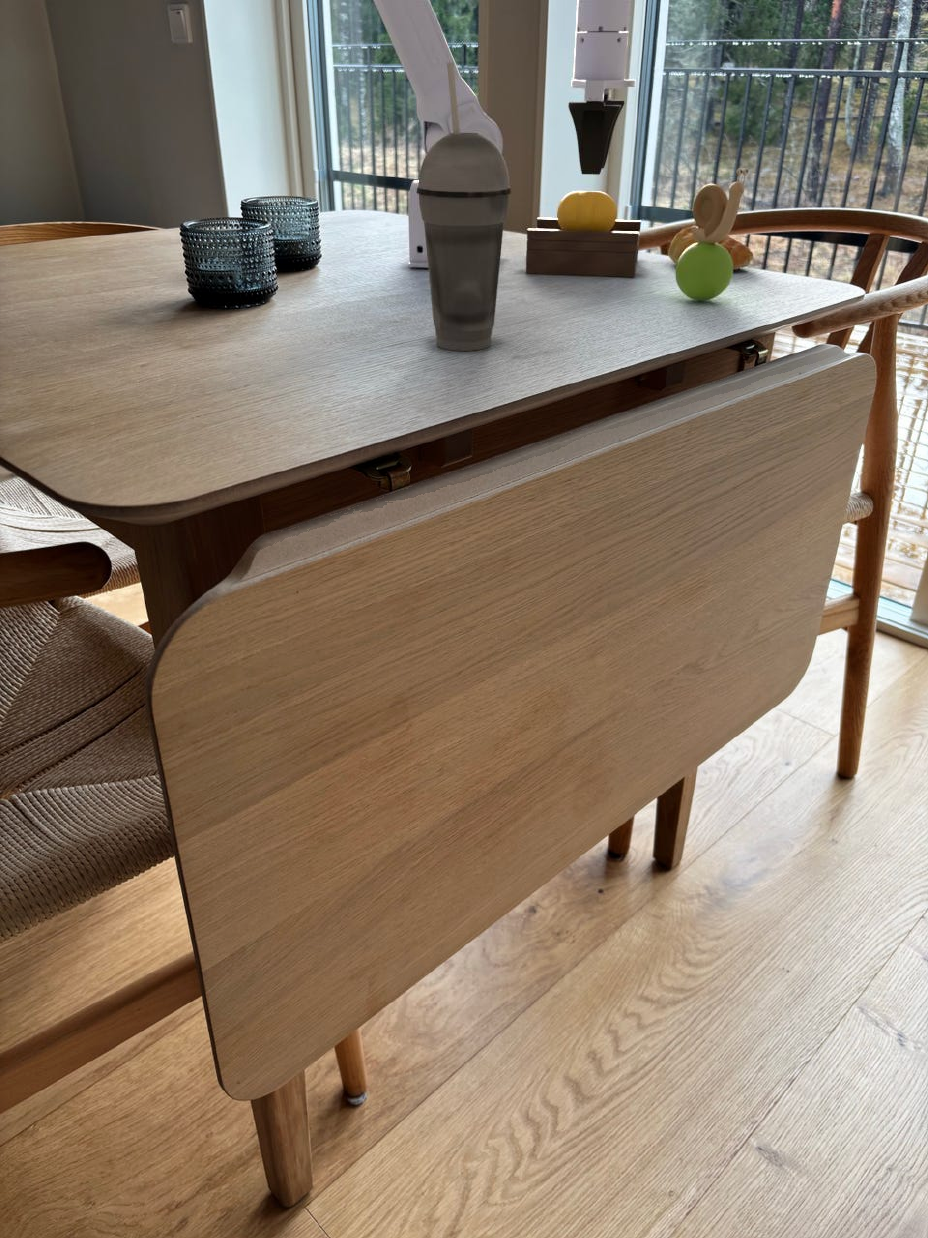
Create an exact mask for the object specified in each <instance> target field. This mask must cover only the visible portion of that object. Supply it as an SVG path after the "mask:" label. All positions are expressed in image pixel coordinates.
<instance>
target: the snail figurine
mask: <svg viewBox="0 0 928 1238" xmlns="http://www.w3.org/2000/svg"><path fill="white" fill-rule="evenodd" d="M735 172H736V175H738V179H737V181H734V182H732V183H731V185H730V186H729V189H728V196H727V193H726V192H725V190H724V189H723V188H722V187H721V186H720V185H718V184H715V183H708V184H705V185H704V186H702V187H701V188H700V189H699V190H698V192H697V193H696V194H695V197H694V199H693V204H692V215H693V216H692V217H693V220H694V222H695V224H696V225H692V226H690V227H691V231H692V234H693V236H694V238H695V239H696V240H697V241H699V242H697V243H695V244H693V245H691V246H690V247H688V248H687V249H686V250H685V251H684V252H683V253H682V254H681V256H680V258H679V260H678V262H677V263H676V264H675V271H674V272H675V273H674V275H675V281H676V284H677V287H678V289H679V290H680V291H681V293H683V295H684V296H686V297H688V298H689V299H691V300H695V301H700V302H701V301H703V302H705V301H709V300H712V299H715V298H717V297H719V296H720V295H721V294H722V293H724V291H725V290H726V289H727V288H728V287H729V285H730V283H731V281H732V278H733V274H734V269H733V262H732V259H731V256H730V254H729V253H728V251H727V250H726V249H725V248H724V247H723V246H722V245H720V244H718V243H717V242H719V241H721V240H723V239H724V238H725V237H726V236H729V234H730V232H731V231H732V230H733V229H732V228H733V226H734V224H735V221H736V219H737V216H738V212H739V209H740V204H741V199H742V197H743V195H744V192H745V186H744V185H745V180H746V175H747V174H748V173H749V169H748V168H747V167H744V168H740V167H739V168H737V169H736V171H735ZM742 175H743V176H744V177H743V182H741V181H740V176H742Z"/></svg>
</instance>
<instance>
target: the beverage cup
mask: <svg viewBox="0 0 928 1238" xmlns="http://www.w3.org/2000/svg"><path fill="white" fill-rule="evenodd" d="M447 70H448V81H449V92H450V103H451V114H452V125H453V133H450V134H448V135H446V136H444V137H442V138H441V139H440V140H438V141H437V142H436V143H435V144H434V145H433V146H432V147H431V149H430V150H429V152H428V153H427V155H425V157H424V158H423V161H422V163H421V166H420V169H419V175H418V180H419V184H418V187H417V192H416V193H418V194H419V205H420V210H421V216H422V220H423V221H424V227H425V237H426V248H427V258H428V268H427V269H428V278H429V288H430V289H429V290H430V299H431V310H432V321H433V326H434V333H435V336H436V346H437V347H439V348H441V349H444V350H448V351H457V352H458V351H459V352H460V351H461V352H470V351H479V350H480V351H481V350H484V349H487V348H489V347H490V346H492V335H493V328H494V325H495V317H496V308H497V307H496V305H497V296H498V287H499V286H498V285H499V277H500V275H499V274H500V265H501V255H502V245H503V244H502V243H503V236H504V235H503V233H504V226H505V225H504V224H505V222H506V219H507V214H508V209H509V205H510V204H509V203H510V195H511V194H512V188H511V186H510V175H509V169H508V166H507V163H506V160H505V158H504V156H503V153H502V154H501V153H500V151H499V150H498V148H497V147H496V146H495V145H494V144H493V143H492V142H491V141H490V140H489V139H487V138H486V137H484V136H482V135H480V134H478V133H460V126H459V116H458V105H457V94H456V83H455V72H454V62H450V63H447Z"/></svg>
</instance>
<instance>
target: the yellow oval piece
mask: <svg viewBox="0 0 928 1238" xmlns="http://www.w3.org/2000/svg"><path fill="white" fill-rule="evenodd" d="M556 218H557V220H558V223H559V225H560V227H561V228H562V230H587V231H610V229H611V228H612V227H613V225H614V224H615V221H616V220H617V218H618V208H617V205H616V203H615V201H614V199H613V198H612V197H611V195H609V194H607V193H606V192H603V191H597V190H575V191H574V190H573V191H571V192H569V193H567V194H566V195H565V196H564V197H563V198H562V199H561V200H560V202H559V204H558V206H557V210H556Z"/></svg>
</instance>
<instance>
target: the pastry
mask: <svg viewBox="0 0 928 1238" xmlns="http://www.w3.org/2000/svg"><path fill="white" fill-rule="evenodd" d="M691 227H692V226H689V227H683V228H682V229H681V230H680V231H679V232H677V233H676V234H675V235H674V237H673V239H672V241H671V243H670V245H669V246H668V247H669V248H668V251H667V255H668V257H669V259H670V260H671V261H672V262H673V263H674V264H675V265H677V262H678V260H679V258H680V256H681V254H682V253H683V252H684V251H685V250H686V249H687V248H688V247H690V246H691V245H693V244H695V243H697V242H699V241H697V240H696V239H695V238H694V236H693V234H692V231H691ZM717 243H718V244H720V245H722V246H723V247H724V248H725V249H726V250H727V251H728V253H729V254H730V256H731V259H732V262H733V270H738V269H741V268H742V269H743V268H744V267H749V266H750V265H751V262H752V260H753V259H754V253H753V252H752V250H751V249H750V248H749V247H748V246H747V245H745V244H744V243H742V242H740V241H738V240H736V239H735V238H732V236H731V237H730V236H729V235H727V236H726V237H725V238H724V239H723V240H721V241H719V242H717Z"/></svg>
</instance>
